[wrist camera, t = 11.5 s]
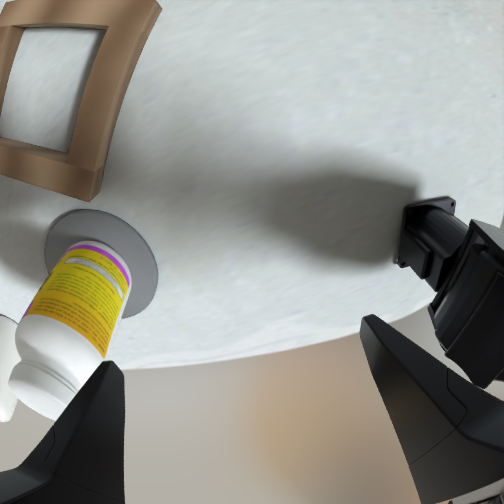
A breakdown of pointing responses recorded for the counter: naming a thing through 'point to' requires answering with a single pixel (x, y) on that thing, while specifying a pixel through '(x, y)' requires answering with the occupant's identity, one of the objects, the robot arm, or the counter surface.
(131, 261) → the coaster
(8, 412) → the pill bottle
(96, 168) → the pocket block
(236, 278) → the counter surface
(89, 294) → the supplement bottle
